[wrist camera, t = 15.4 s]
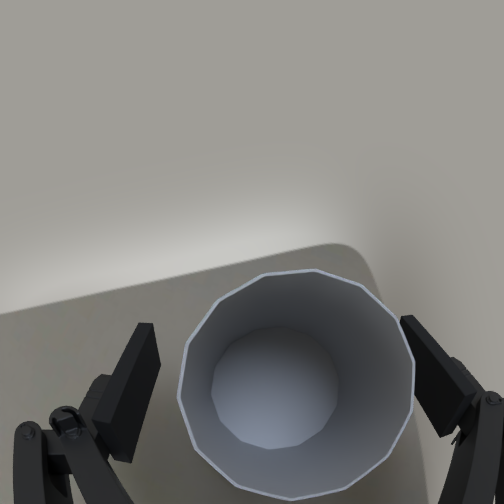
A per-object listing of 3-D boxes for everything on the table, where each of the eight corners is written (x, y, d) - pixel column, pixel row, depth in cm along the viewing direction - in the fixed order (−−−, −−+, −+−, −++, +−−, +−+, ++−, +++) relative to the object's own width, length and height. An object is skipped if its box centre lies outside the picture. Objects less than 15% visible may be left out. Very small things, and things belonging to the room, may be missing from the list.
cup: (294, 469, 15) (337, 529, 6) (186, 405, 17) (131, 417, 8) (358, 364, 19) (443, 334, 10) (256, 304, 20) (267, 229, 12)
